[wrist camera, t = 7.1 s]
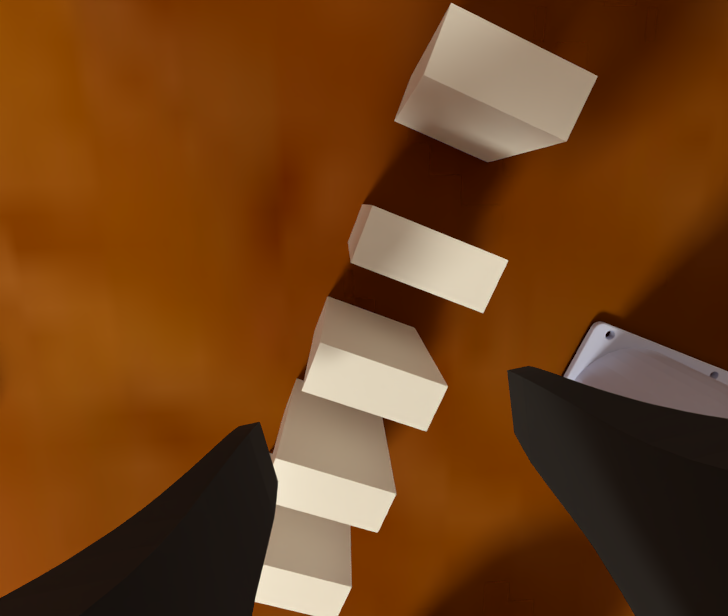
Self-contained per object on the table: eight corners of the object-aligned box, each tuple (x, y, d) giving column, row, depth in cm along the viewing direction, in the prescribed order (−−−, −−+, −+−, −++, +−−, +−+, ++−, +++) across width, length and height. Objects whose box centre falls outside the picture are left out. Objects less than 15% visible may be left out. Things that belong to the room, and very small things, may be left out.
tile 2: (380, 406, 22) (396, 494, 16) (367, 434, 23) (377, 532, 16) (296, 378, 22) (275, 458, 15) (285, 409, 22) (259, 499, 15)
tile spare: (506, 121, 19) (598, 76, 12) (488, 162, 19) (566, 141, 12) (410, 76, 18) (451, 3, 11) (394, 120, 18) (423, 74, 12)
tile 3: (414, 327, 21) (447, 386, 14) (400, 359, 22) (426, 431, 15) (327, 295, 21) (320, 342, 14) (314, 330, 21) (301, 391, 14)
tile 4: (452, 240, 20) (508, 260, 13) (437, 276, 21) (483, 313, 14) (362, 204, 19) (372, 205, 13) (348, 242, 20) (350, 262, 13)
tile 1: (349, 476, 23) (351, 587, 17) (337, 502, 24) (335, 620, 17) (268, 452, 23) (237, 557, 16) (258, 480, 23) (223, 594, 16)
